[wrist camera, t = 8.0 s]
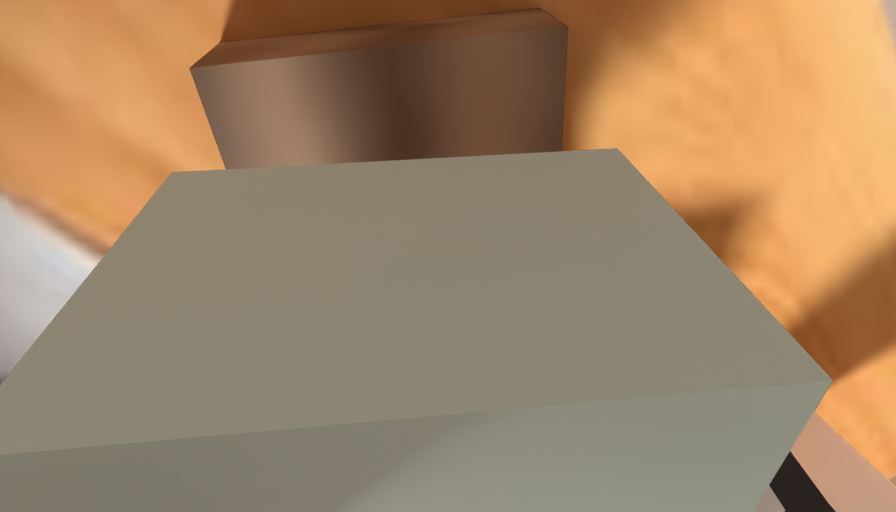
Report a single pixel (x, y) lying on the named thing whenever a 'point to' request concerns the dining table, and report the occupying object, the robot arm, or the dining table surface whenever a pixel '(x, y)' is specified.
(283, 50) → the walnut base
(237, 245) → the sage brick
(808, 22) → the dining table surface
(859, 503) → the foam cup
